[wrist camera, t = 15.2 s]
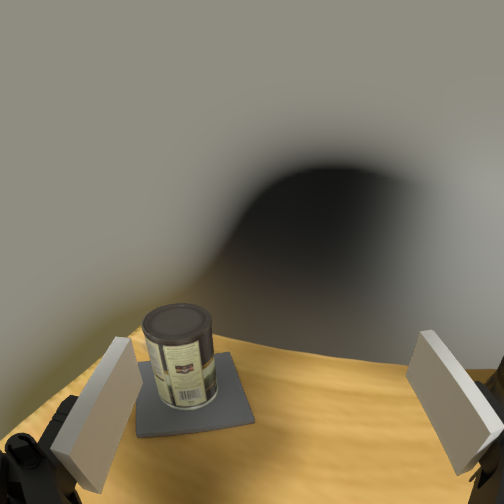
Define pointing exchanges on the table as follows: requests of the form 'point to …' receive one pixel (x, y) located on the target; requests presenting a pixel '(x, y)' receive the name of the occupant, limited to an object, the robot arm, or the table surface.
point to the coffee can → (182, 354)
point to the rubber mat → (199, 420)
